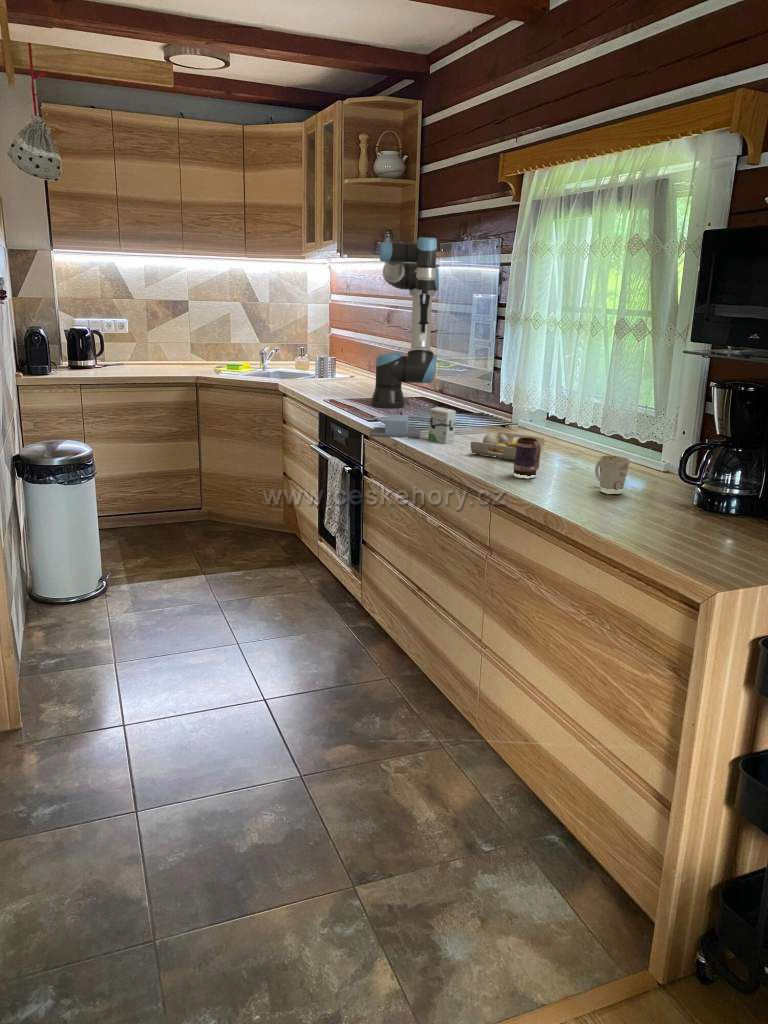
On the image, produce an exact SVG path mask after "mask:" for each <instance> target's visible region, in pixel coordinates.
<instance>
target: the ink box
mask: <svg viewBox="0 0 768 1024" xmlns="http://www.w3.org/2000/svg"><path fill="white" fill-rule="evenodd" d="M456 413H457V411H456V410H454V409H451V408H450V409H449V408H447V407H446V408H445V407H440V406H436V407H433V408H430V409H429V420H428V422H429V423H428V424H429V425H428V437H427V438H428V439H427V440H428V441H430V442H435V443H440V444H442V445H448V444H453V443H455V429H456V428H455V427H456Z"/></svg>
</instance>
